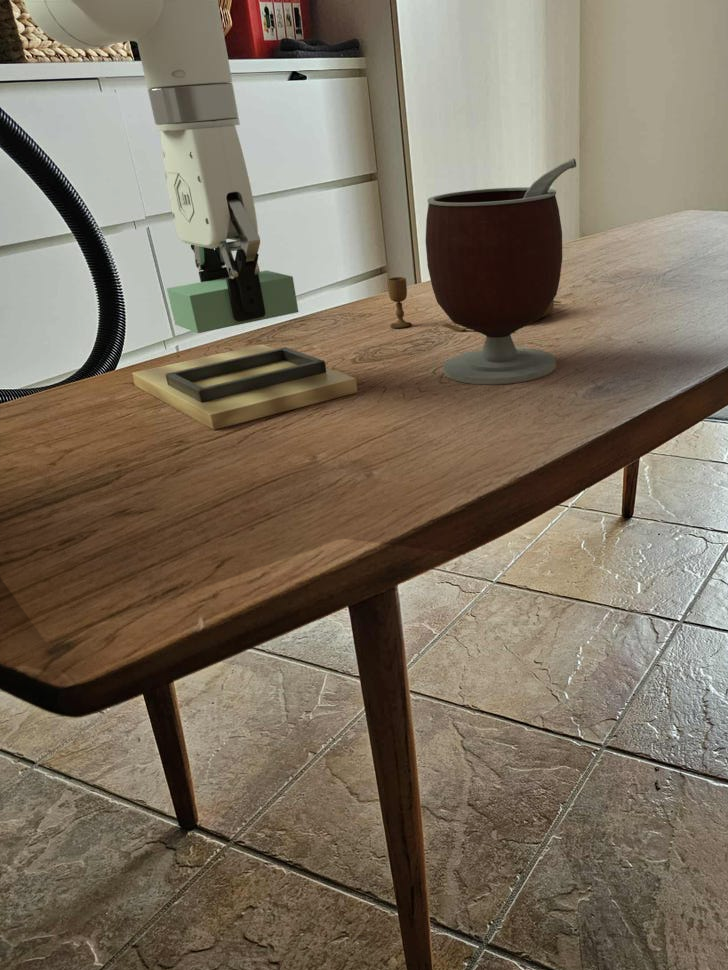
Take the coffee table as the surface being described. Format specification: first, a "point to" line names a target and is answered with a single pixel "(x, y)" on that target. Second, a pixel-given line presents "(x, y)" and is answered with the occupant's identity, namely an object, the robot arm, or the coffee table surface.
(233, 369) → the wooden block holder
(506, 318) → the mate gourd
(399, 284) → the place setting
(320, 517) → the coffee table surface
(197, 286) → the green rectangular block
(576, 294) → the coffee table surface
